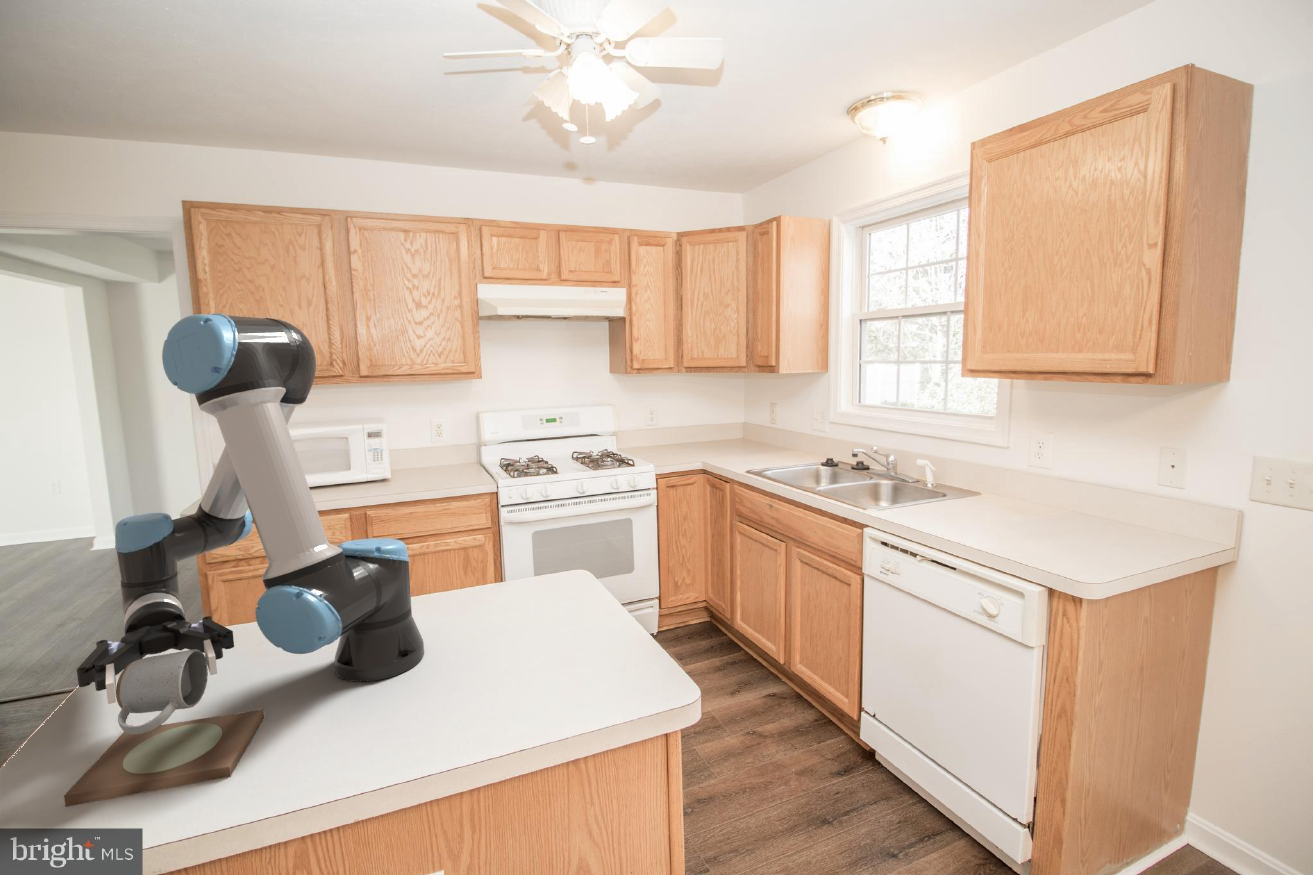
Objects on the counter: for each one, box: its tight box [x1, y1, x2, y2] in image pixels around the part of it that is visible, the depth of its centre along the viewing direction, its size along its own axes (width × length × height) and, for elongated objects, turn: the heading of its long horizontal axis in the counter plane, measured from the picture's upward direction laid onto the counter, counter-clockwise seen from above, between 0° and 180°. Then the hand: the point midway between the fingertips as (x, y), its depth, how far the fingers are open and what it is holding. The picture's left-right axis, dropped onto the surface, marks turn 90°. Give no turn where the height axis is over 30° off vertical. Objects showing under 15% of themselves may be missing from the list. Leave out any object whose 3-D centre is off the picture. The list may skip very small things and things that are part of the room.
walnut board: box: [63, 709, 265, 807], centre depth 85 cm, size 18×14×2 cm
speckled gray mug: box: [116, 649, 209, 734], centre depth 82 cm, size 11×8×8 cm
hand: (164, 678), depth 80 cm, fingers closed on speckled gray mug, 10 cm apart
